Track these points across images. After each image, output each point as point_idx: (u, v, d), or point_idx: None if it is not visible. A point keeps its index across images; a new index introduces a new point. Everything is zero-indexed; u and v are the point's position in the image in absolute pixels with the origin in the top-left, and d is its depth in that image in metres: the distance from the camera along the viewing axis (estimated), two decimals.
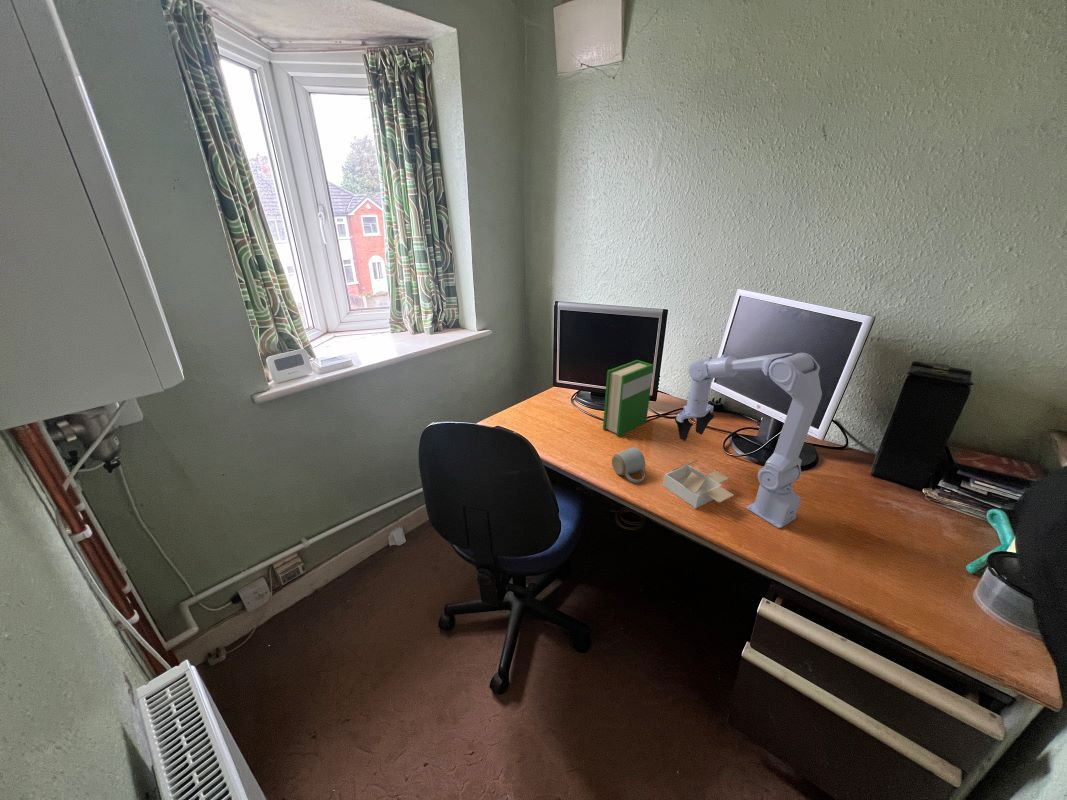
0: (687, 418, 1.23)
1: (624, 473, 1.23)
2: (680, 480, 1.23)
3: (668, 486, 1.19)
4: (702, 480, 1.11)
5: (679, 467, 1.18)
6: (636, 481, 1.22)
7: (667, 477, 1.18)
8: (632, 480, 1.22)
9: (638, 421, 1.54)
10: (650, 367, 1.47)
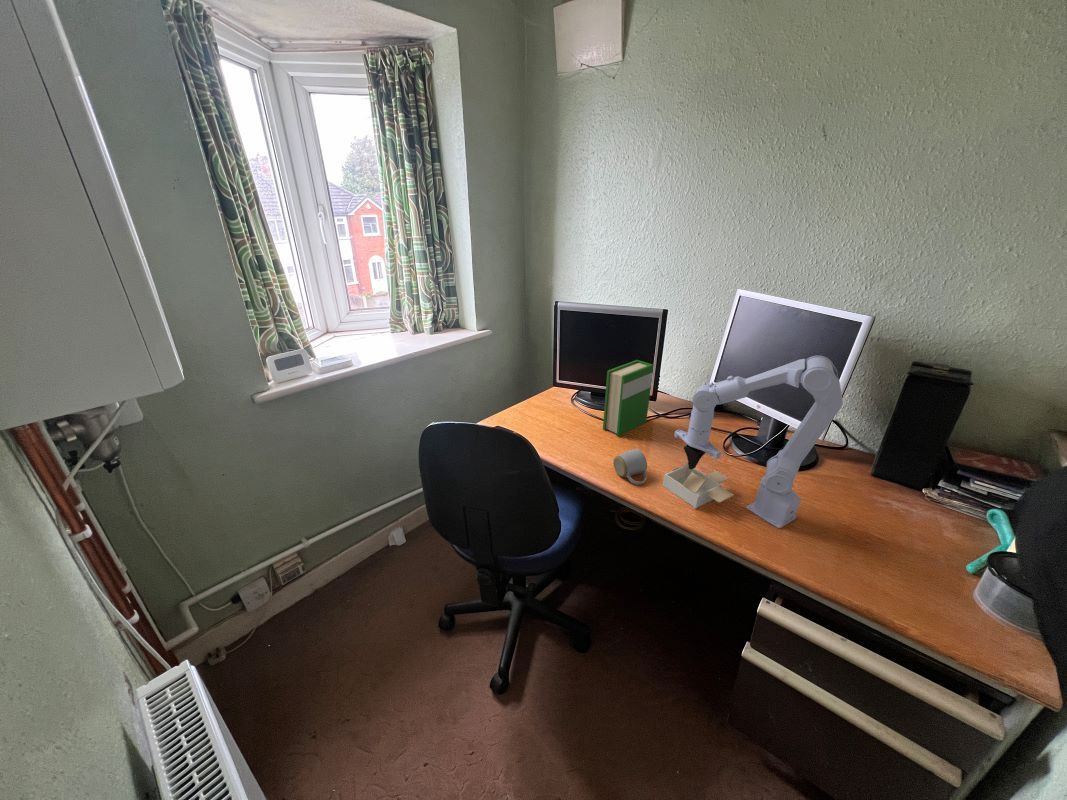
0: None
1: (626, 475, 1.22)
2: (680, 480, 1.23)
3: (668, 486, 1.19)
4: (702, 480, 1.11)
5: (679, 467, 1.18)
6: (638, 483, 1.21)
7: (667, 477, 1.18)
8: (634, 482, 1.21)
9: (638, 421, 1.54)
10: (650, 367, 1.47)
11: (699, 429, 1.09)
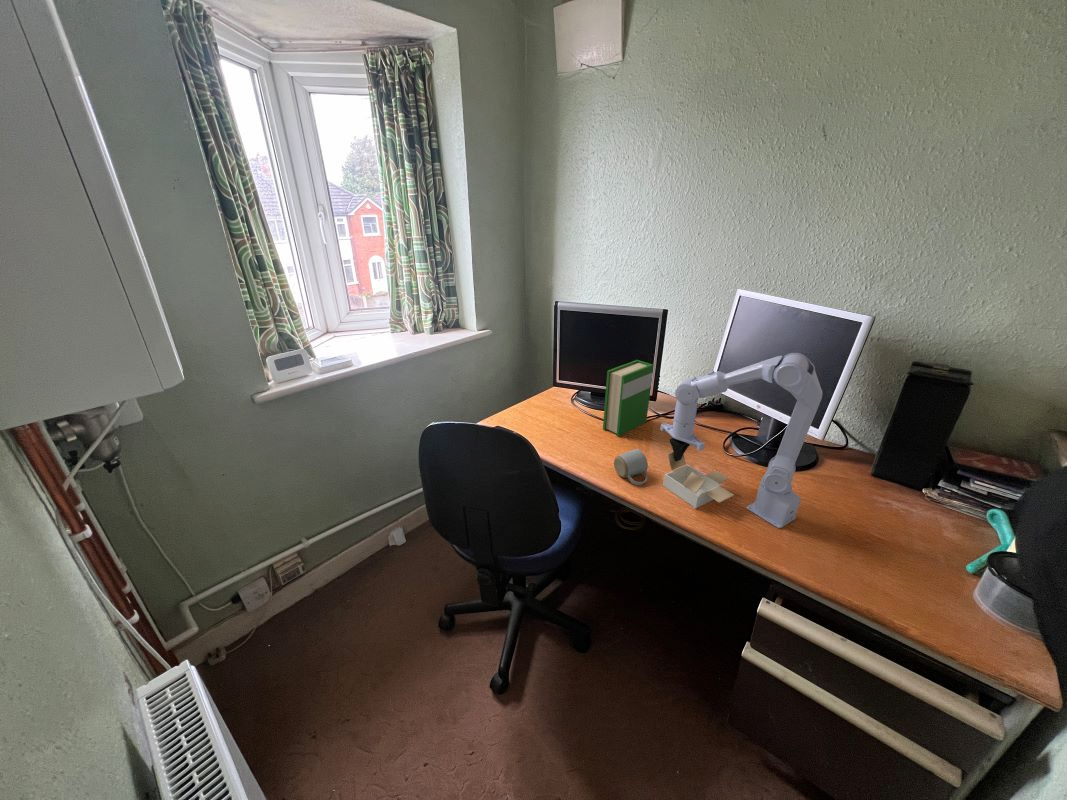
0: None
1: (626, 475, 1.22)
2: (680, 480, 1.23)
3: (668, 486, 1.19)
4: (702, 480, 1.11)
5: None
6: (639, 483, 1.21)
7: (667, 477, 1.18)
8: (634, 482, 1.21)
9: (638, 421, 1.54)
10: (650, 367, 1.47)
11: (682, 421, 1.13)
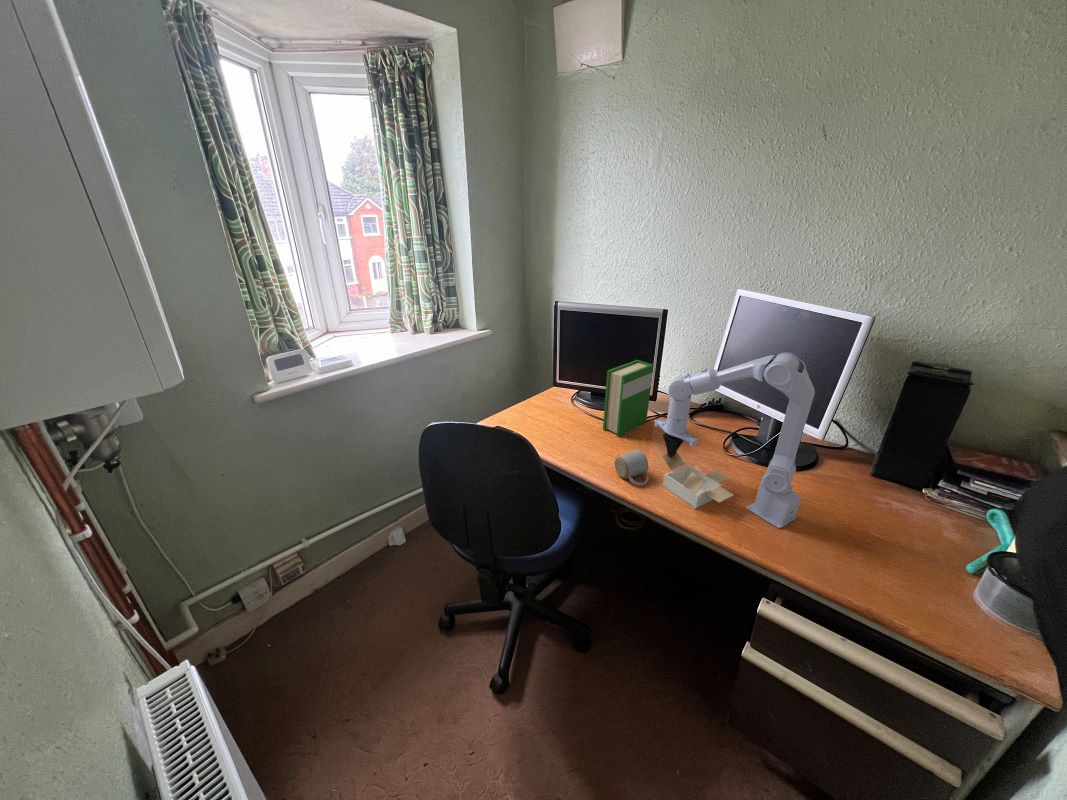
0: None
1: (627, 476, 1.22)
2: (680, 480, 1.23)
3: (668, 486, 1.19)
4: (702, 480, 1.11)
5: None
6: (639, 484, 1.20)
7: (667, 477, 1.18)
8: (635, 483, 1.21)
9: (638, 421, 1.54)
10: (650, 367, 1.47)
11: (675, 417, 1.15)
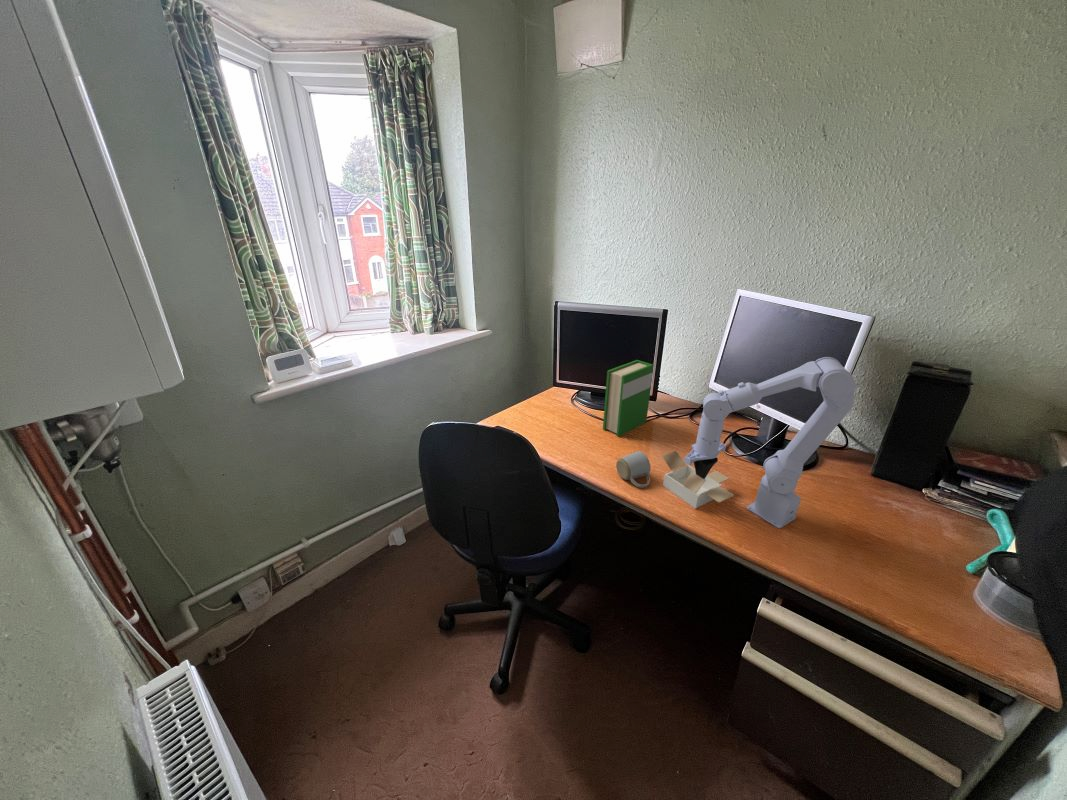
0: (696, 460, 1.08)
1: (629, 478, 1.21)
2: (680, 480, 1.23)
3: (668, 486, 1.19)
4: (702, 480, 1.11)
5: None
6: (641, 486, 1.20)
7: (667, 477, 1.18)
8: (637, 485, 1.20)
9: (638, 421, 1.54)
10: (650, 367, 1.47)
11: (710, 439, 1.05)
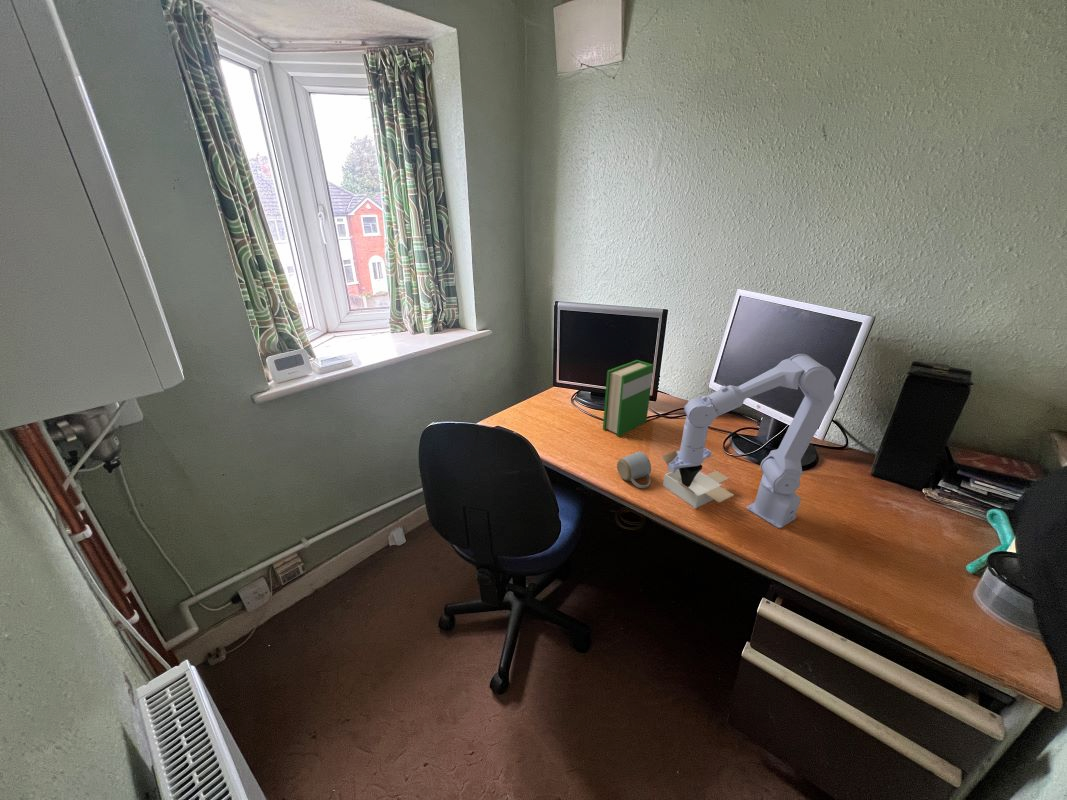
0: None
1: (630, 478, 1.21)
2: (680, 480, 1.23)
3: (668, 486, 1.19)
4: (687, 488, 1.08)
5: None
6: (642, 486, 1.19)
7: (667, 477, 1.18)
8: (638, 485, 1.19)
9: (638, 421, 1.54)
10: (650, 367, 1.47)
11: (697, 446, 1.02)
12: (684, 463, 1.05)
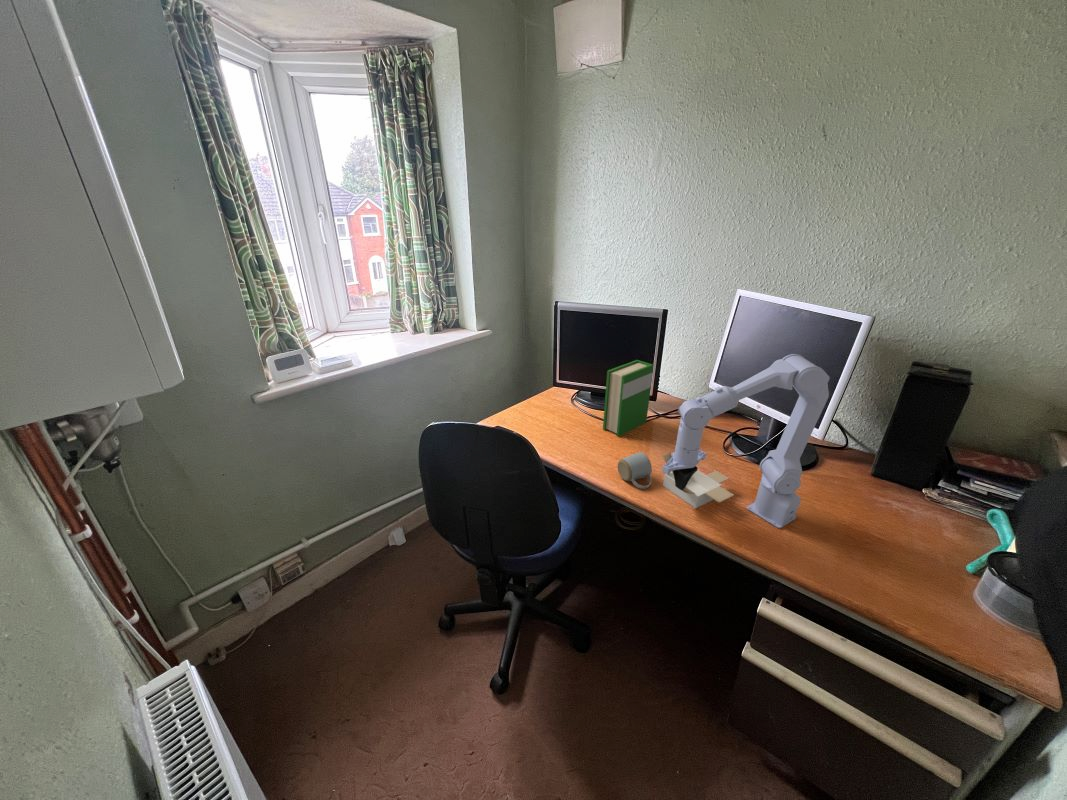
0: None
1: (630, 479, 1.20)
2: None
3: (668, 486, 1.19)
4: None
5: None
6: (643, 487, 1.19)
7: (667, 477, 1.18)
8: (638, 486, 1.19)
9: (638, 421, 1.54)
10: (650, 367, 1.47)
11: (692, 448, 1.01)
12: (678, 465, 1.04)
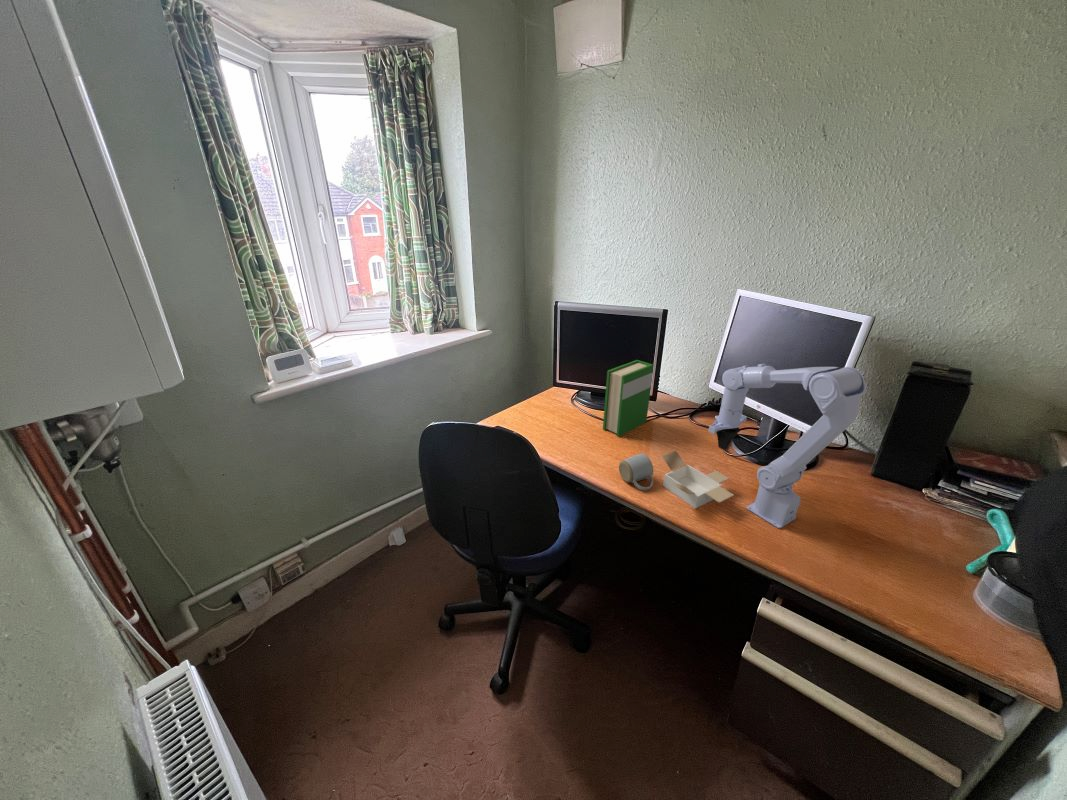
0: (720, 429, 1.15)
1: (632, 480, 1.20)
2: (680, 480, 1.23)
3: (668, 486, 1.19)
4: None
5: None
6: (644, 488, 1.18)
7: (667, 477, 1.18)
8: (640, 487, 1.19)
9: (638, 421, 1.54)
10: (650, 367, 1.47)
11: (725, 407, 1.14)
12: (723, 425, 1.15)
